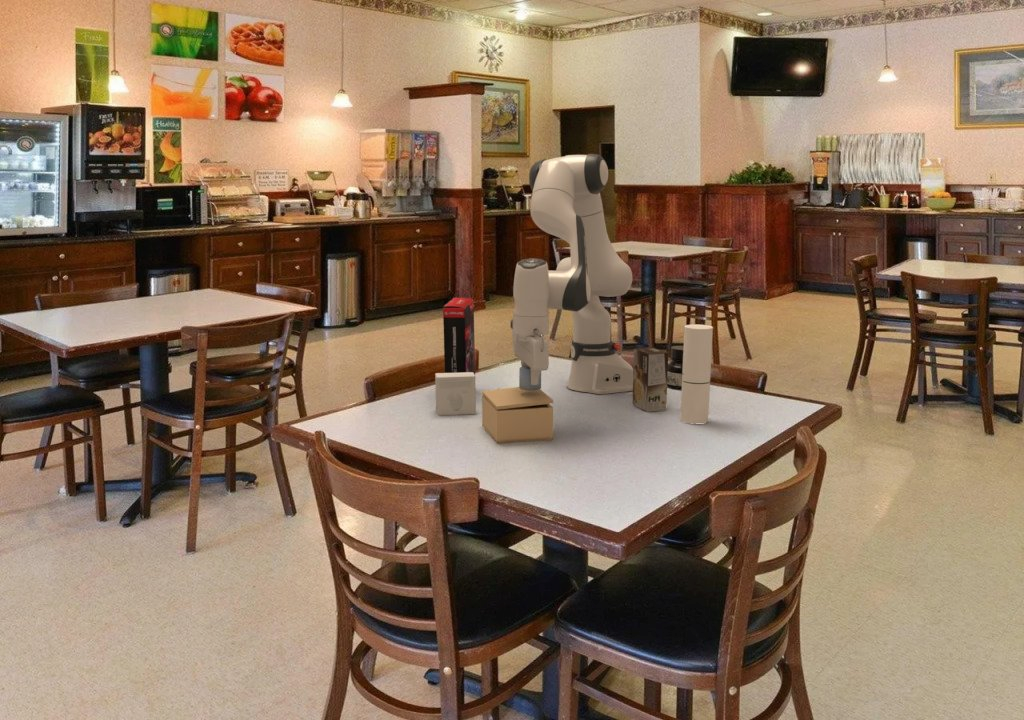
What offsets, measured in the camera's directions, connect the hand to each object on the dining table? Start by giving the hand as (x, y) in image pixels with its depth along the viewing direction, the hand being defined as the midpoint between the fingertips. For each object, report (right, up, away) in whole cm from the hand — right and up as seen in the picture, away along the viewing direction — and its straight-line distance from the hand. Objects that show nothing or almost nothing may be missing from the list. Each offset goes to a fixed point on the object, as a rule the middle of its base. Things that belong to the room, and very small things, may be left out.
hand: (530, 381), depth 231 cm
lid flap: (-3, -4, 0) cm, 5 cm away
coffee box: (+33, -8, +27) cm, 44 cm away
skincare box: (-20, -9, +21) cm, 30 cm away
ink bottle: (+47, -3, +52) cm, 70 cm away
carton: (-3, -13, +2) cm, 13 cm away
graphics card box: (-20, -5, +40) cm, 45 cm away
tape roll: (0, -2, 0) cm, 2 cm away
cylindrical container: (+43, -11, +14) cm, 47 cm away
